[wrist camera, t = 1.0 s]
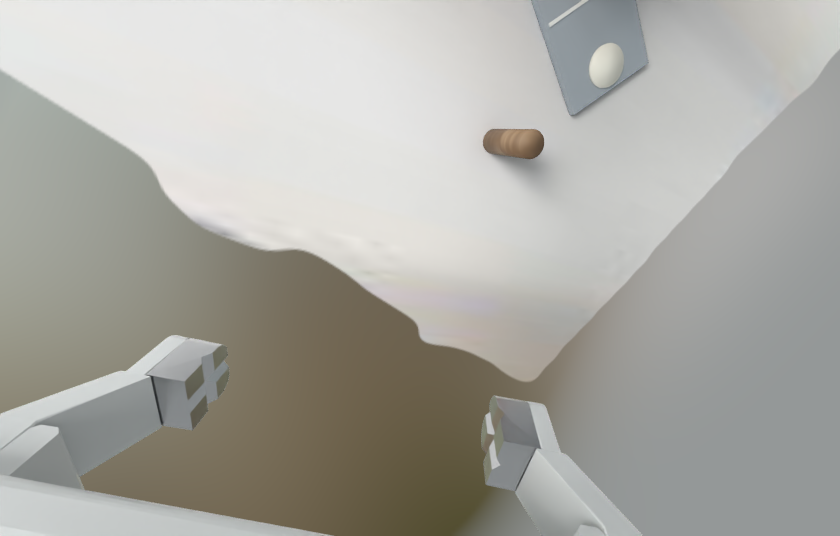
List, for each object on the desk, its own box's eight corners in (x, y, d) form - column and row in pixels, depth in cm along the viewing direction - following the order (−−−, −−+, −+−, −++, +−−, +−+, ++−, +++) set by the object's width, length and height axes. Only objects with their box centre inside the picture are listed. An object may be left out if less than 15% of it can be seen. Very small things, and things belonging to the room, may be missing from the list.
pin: (479, 137, 44) (514, 139, 36) (498, 124, 44) (538, 123, 36) (489, 158, 45) (525, 164, 37) (507, 145, 46) (547, 148, 37)
